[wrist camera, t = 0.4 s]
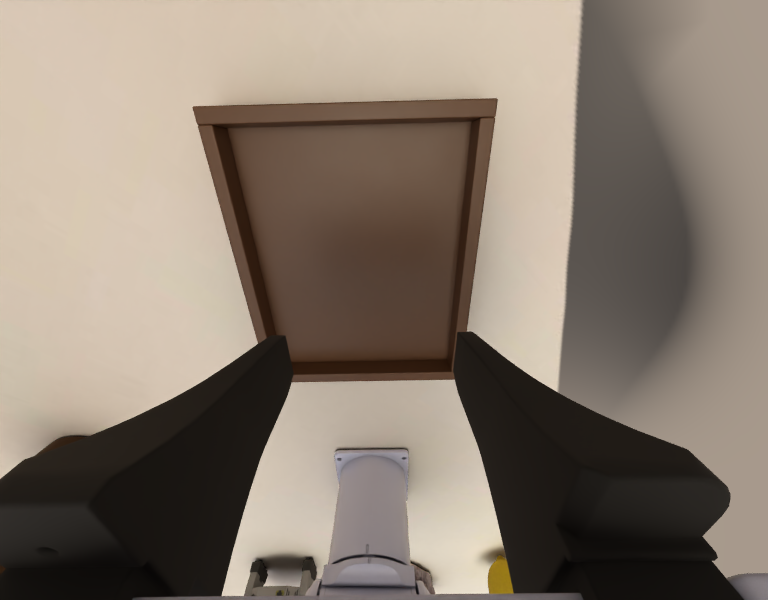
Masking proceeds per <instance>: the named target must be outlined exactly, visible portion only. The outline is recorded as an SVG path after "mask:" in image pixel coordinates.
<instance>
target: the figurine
mask: <svg viewBox="0 0 768 600" xmlns="http://www.w3.org/2000/svg"><path fill="white" fill-rule="evenodd" d="M263 566H264V563H262V561H255V562H253V563H252V566H251V570H250V577H249V580H248V583H247V587H246V590H245V594H244V596H305V594H306V592H307V590H308V589H309V588H310V587H311V585H312V584H313V582H314V581H315V579H316V574H317V572H316V567H315V565H314V561H313V559H306V560H304V562H303V568H302V571H303V573H302V579H301V585H300V587H292V586H264V587H263V585H264V584H265V582H266V579H267V576H268V574H267V570H266V567H263Z"/></svg>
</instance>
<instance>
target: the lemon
mask: <svg viewBox="0 0 768 600" xmlns="http://www.w3.org/2000/svg"><path fill="white" fill-rule="evenodd" d="M488 588H489V593H490V594H514V593H513V588H512V583H511V578H510V574H509V569H508V564H507V560H506V559H505V558H504V557H502V556H501V555H499V556H497V559H496V561H495V562H494V563H493V564H492V566H491V567H490V569H489V573H488Z"/></svg>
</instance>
